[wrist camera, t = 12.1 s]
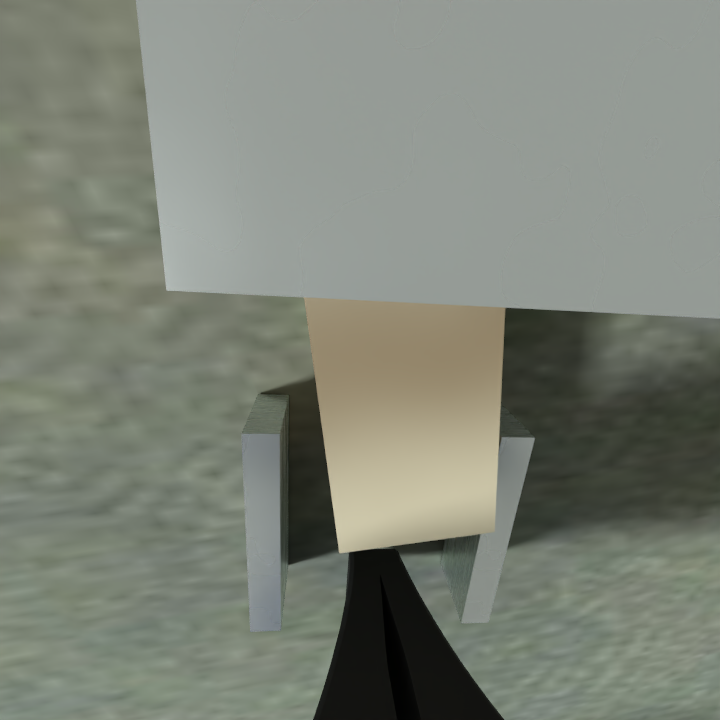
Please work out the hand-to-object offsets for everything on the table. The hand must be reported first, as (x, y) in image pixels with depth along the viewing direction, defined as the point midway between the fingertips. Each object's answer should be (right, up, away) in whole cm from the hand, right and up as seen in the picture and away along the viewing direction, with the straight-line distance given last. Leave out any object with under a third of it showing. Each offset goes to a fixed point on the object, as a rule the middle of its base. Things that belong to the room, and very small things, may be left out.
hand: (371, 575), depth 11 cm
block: (+1, +10, -2) cm, 11 cm away
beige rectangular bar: (0, +7, -1) cm, 8 cm away
